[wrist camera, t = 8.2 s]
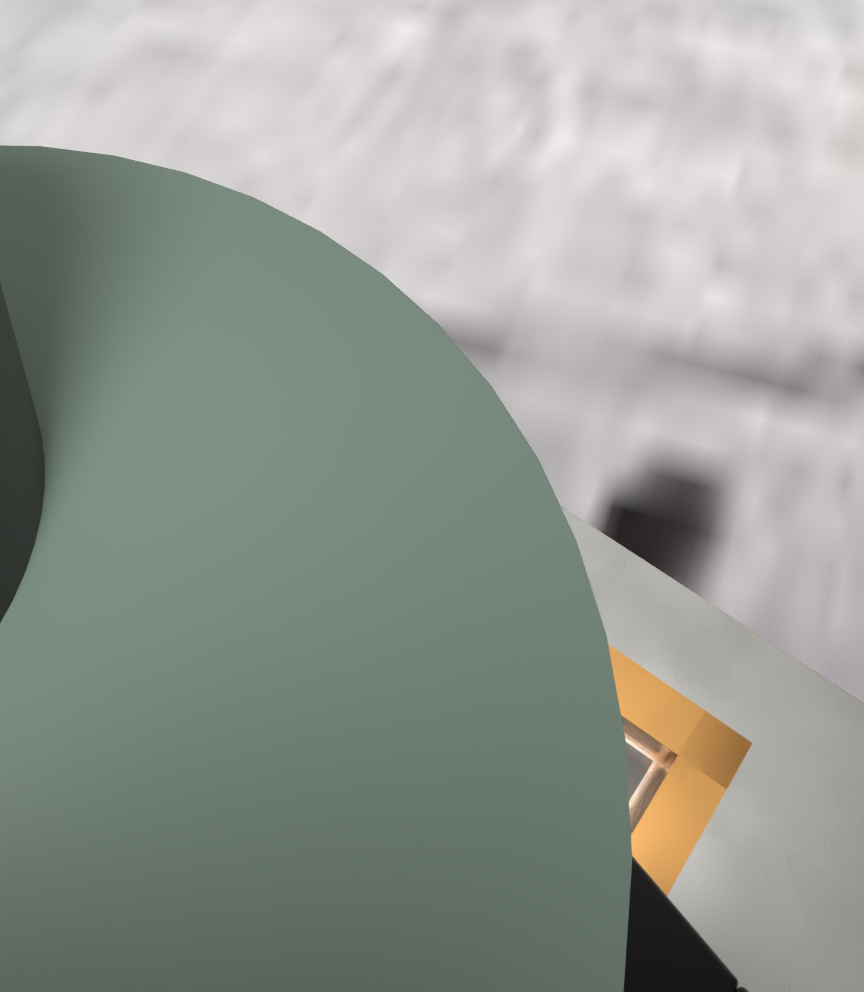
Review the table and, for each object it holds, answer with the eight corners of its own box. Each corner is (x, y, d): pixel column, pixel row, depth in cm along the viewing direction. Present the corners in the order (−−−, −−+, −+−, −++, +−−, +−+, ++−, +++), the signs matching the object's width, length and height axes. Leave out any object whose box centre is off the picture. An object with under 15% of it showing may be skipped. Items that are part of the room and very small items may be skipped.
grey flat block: (929, 787, 18) (1040, 780, 14) (530, 1635, 13) (561, 1911, 10) (252, 338, 22) (220, 256, 19) (-227, 838, 17) (-380, 843, 14)
